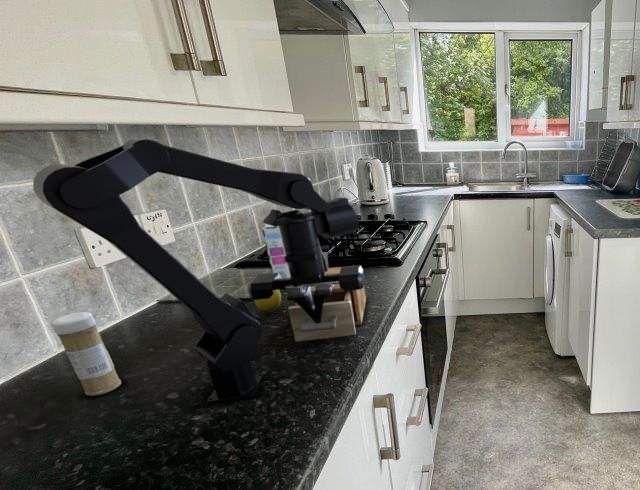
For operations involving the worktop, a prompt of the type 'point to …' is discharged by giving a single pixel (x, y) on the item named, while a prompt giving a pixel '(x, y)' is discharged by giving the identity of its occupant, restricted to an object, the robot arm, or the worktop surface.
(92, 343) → the sprinkles bottle
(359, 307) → the cabinet
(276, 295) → the lemon
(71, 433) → the worktop surface
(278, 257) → the candy bar box
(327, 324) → the drawer
